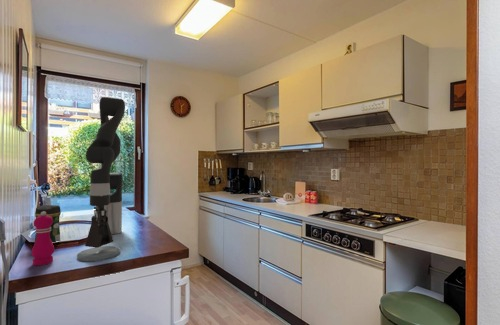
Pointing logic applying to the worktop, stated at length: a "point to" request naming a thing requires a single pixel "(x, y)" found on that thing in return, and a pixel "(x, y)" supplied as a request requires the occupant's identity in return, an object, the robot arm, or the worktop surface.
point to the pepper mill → (43, 240)
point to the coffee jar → (55, 214)
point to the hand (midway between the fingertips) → (99, 232)
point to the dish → (98, 254)
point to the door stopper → (96, 239)
